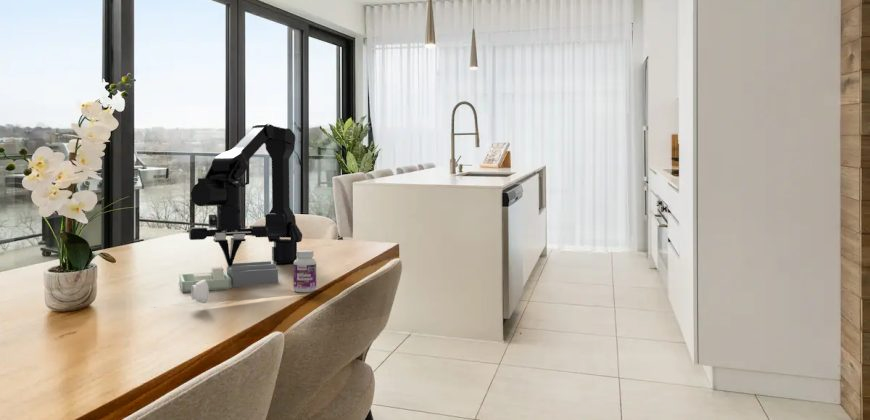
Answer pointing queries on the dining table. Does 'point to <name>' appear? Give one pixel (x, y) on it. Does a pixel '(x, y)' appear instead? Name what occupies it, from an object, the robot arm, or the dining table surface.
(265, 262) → the bench board
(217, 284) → the tray
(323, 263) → the dining table surface
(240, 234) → the robot arm
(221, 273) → the tile
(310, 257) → the pill bottle
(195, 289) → the white flared knob
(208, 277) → the tile
